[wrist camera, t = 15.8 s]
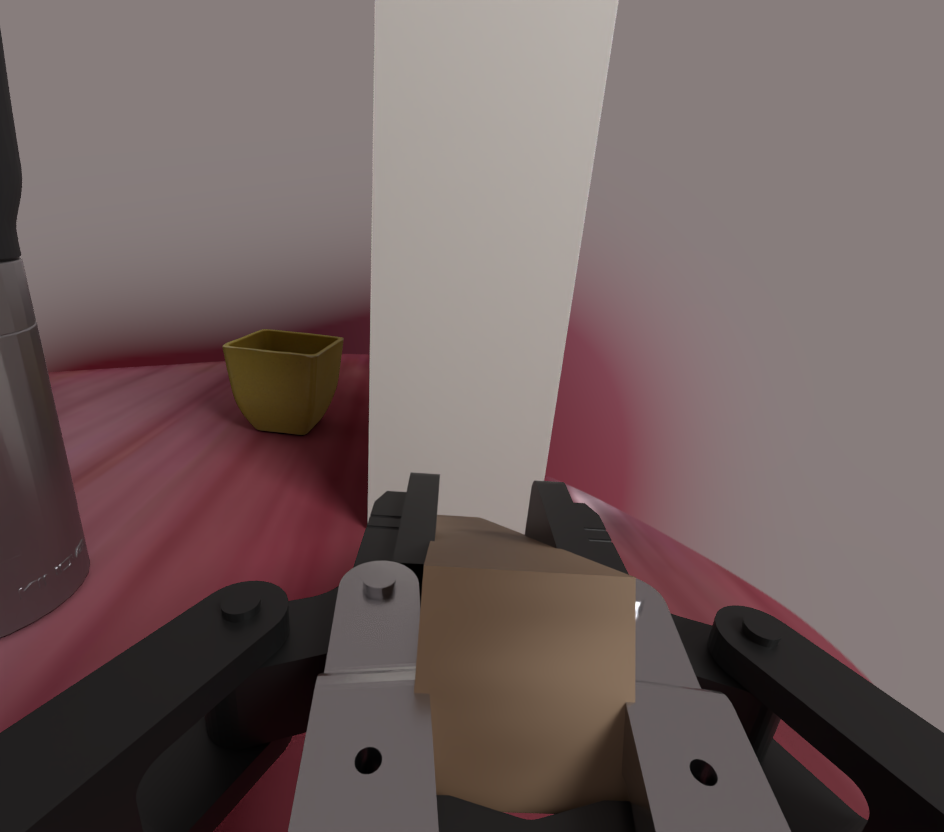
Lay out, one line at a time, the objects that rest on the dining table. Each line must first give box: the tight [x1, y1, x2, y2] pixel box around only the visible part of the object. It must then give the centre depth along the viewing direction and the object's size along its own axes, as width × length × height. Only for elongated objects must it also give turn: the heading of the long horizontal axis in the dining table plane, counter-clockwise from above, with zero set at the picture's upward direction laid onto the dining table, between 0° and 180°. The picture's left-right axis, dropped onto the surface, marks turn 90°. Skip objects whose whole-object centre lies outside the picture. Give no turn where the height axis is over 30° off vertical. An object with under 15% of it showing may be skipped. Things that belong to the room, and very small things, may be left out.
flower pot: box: [223, 329, 343, 435], centre depth 49 cm, size 9×9×9 cm
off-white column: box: [368, 0, 619, 535], centre depth 35 cm, size 12×12×32 cm
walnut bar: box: [414, 515, 636, 814], centre depth 16 cm, size 2×22×2 cm
